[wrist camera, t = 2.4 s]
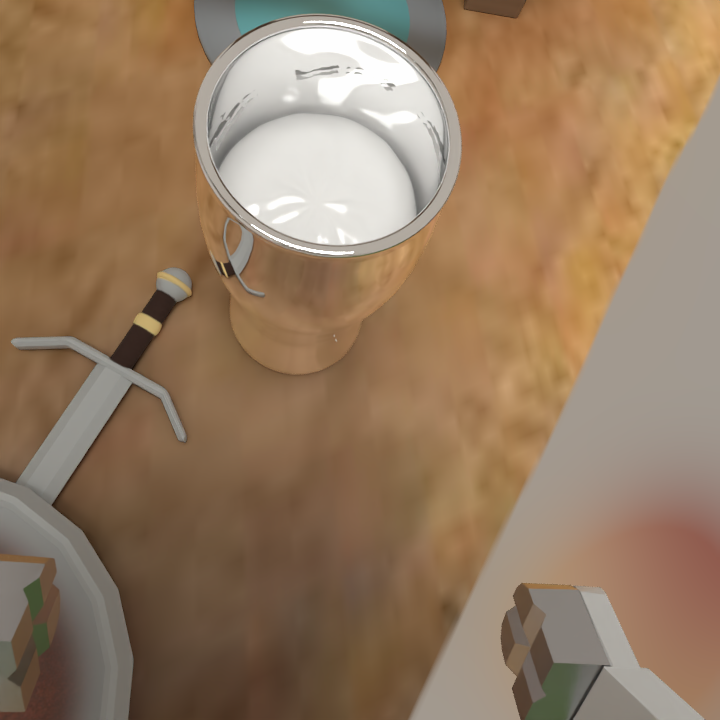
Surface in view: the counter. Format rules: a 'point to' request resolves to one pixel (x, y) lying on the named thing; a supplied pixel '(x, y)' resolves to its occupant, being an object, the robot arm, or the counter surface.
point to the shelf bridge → (366, 3)
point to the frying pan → (68, 543)
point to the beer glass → (319, 179)
